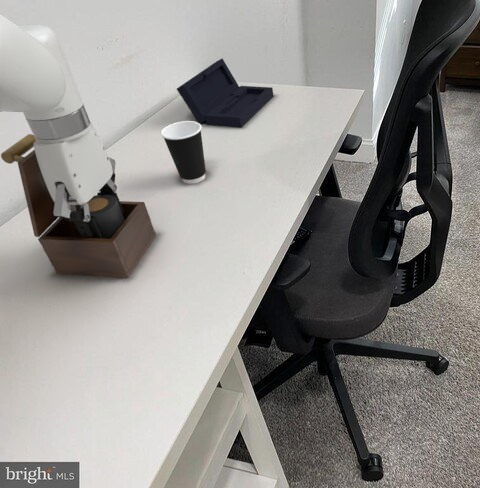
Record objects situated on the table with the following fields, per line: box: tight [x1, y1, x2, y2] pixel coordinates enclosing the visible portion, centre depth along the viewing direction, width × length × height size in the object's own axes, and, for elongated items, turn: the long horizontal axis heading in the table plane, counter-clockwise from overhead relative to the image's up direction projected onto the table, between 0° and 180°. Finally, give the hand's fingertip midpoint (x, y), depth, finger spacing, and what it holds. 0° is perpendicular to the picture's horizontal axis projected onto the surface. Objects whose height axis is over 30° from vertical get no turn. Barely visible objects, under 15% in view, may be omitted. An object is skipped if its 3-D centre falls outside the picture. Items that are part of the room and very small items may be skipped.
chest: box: [38, 200, 157, 279], centre depth 80 cm, size 13×11×7 cm
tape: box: [76, 194, 125, 239], centre depth 77 cm, size 6×6×5 cm
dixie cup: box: [160, 120, 207, 185], centre depth 98 cm, size 8×8×11 cm
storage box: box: [176, 57, 274, 128], centre depth 127 cm, size 21×16×10 cm
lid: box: [0, 133, 76, 238], centre depth 74 cm, size 13×11×5 cm
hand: (103, 225), depth 78 cm, fingers closed on tape, 6 cm apart
